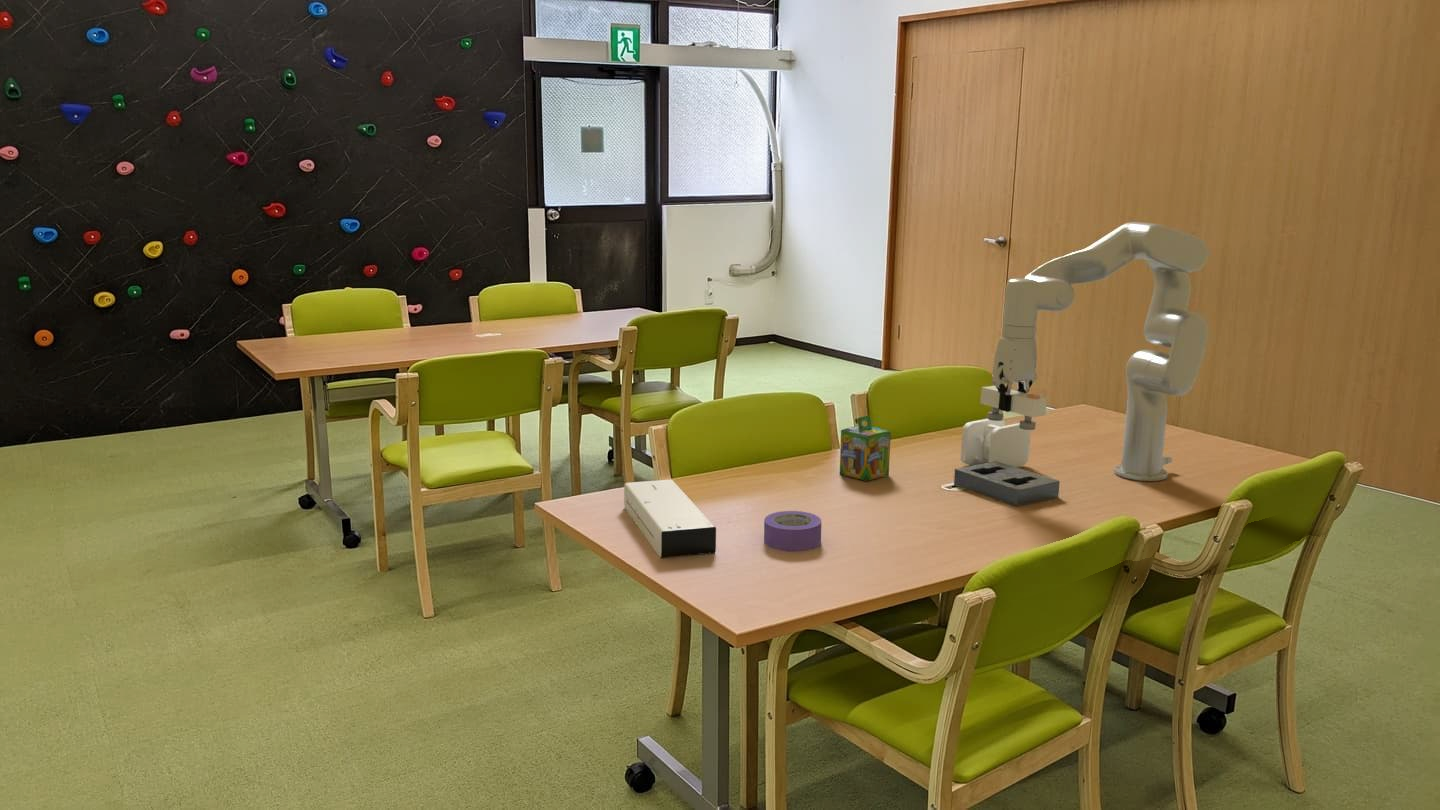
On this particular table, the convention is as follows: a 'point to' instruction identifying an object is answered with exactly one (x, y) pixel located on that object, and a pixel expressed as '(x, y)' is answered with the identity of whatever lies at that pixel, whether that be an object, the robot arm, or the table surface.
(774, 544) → the tape roll
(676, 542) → the laminator
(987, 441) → the cable organizer
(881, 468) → the chalk box
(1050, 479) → the grey slotted tray
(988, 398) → the white bar with pegs
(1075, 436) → the table surface
